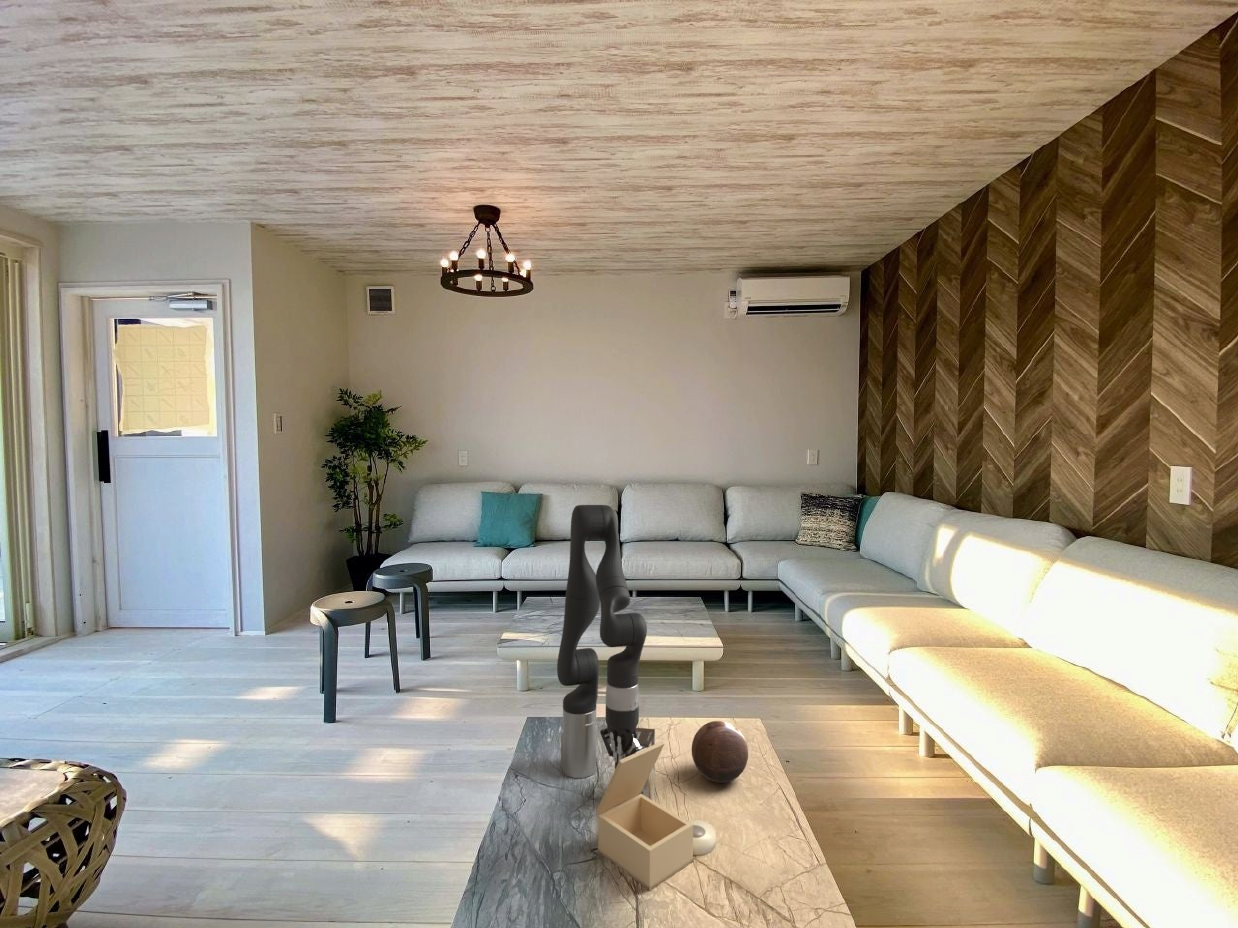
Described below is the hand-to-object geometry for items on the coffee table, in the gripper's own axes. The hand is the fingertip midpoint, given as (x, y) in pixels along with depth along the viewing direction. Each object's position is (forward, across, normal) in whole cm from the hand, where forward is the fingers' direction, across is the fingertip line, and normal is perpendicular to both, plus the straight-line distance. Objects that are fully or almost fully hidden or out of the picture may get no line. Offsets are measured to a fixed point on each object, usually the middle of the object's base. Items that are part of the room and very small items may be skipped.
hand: (621, 778), depth 137 cm
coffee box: (+14, -9, +15) cm, 23 cm away
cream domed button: (+14, +12, +12) cm, 22 cm away
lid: (-1, +3, 0) cm, 4 cm away
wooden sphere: (+14, -2, +37) cm, 40 cm away
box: (+14, +8, 0) cm, 16 cm away
